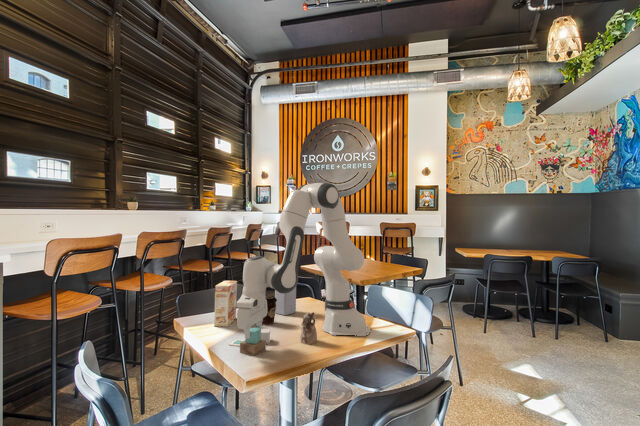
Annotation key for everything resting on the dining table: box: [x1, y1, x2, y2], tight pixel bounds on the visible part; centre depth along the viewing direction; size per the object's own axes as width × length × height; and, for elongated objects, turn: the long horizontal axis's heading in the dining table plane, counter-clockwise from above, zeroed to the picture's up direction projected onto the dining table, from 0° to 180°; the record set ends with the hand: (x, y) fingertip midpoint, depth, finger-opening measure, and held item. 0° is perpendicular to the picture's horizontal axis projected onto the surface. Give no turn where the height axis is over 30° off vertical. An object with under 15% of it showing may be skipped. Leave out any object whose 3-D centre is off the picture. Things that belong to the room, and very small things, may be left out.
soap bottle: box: [274, 286, 297, 316], centre depth 185 cm, size 9×9×25 cm
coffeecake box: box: [213, 280, 238, 328], centre depth 167 cm, size 15×7×20 cm, turn 179°
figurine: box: [299, 311, 318, 345], centre depth 141 cm, size 7×7×12 cm
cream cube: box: [261, 328, 271, 344], centre depth 141 cm, size 4×4×4 cm
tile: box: [228, 338, 245, 347], centre depth 138 cm, size 6×6×1 cm
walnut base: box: [239, 339, 267, 357], centre depth 130 cm, size 7×7×4 cm
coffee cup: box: [262, 295, 277, 326], centre depth 166 cm, size 9×8×13 cm
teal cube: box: [244, 327, 262, 344], centre depth 130 cm, size 4×4×4 cm
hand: (253, 333), depth 130 cm, fingers open, 8 cm apart
